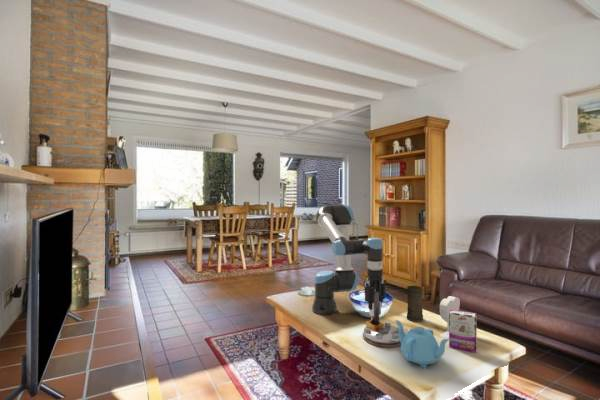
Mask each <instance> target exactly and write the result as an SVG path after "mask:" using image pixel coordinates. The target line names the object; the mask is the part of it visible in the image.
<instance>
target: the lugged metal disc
mask: <svg viewBox="0 0 600 400" xmlns="http://www.w3.org/2000/svg"><path fill="white" fill-rule="evenodd" d="M365 321H366V322H365V324H366V325H365V327H364V329H363V333H364V336H365V337H366V338H367V339H368V340H370V341H372V342H375V343H378V344H386V345H392V344H397V343H400V340H399V326H398V327H397V326H395V325H392V324H391V322H388V321H385V322H383V321H381V320H379V324H372V323H371V319H370V320H365Z"/></svg>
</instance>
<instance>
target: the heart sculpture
mask: <svg viewBox="0 0 600 400" xmlns="http://www.w3.org/2000/svg"><path fill="white" fill-rule="evenodd" d="M460 300H461V299H460V297H458V296H457V297H456V296H451V295H449V296H447V298H443V299H442V300H441V301H440V303H439V315H440V317H441V319H442V321H444V322H446V323H447V325H446V327H447V329H446V330H445V331H444V332H442V333H440V334H439V336H440V337H442V338H443V339H449V312H450V310H456V311H460V305H461V301H460Z"/></svg>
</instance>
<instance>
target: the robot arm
mask: <svg viewBox="0 0 600 400" xmlns="http://www.w3.org/2000/svg"><path fill="white" fill-rule="evenodd" d="M315 220H316V223H317V224H318V226H320V227H321V228H322V229H323V231H324V232H325V234H326V236H327V237H328V239H329V240H330V241H331V243H332V244H331V251H332V254H333V255H334V256H336V265H337V266H336V268H335V270H334V271H332V270H322V271H318V272H317V273H316V274H315V276H314V299H313V302H312V303H313V304H312V306H311V310H312V312H313V313H315V314H317V315H332V314H335V313H337V312H338V306H337V303H336V300H335V293H344V292H347V293H348V292H353V291H355V290H357V287H358V286H359V275H358V273H357V272H356V271H355V269H354V267H352V262H351V255H353V256H354V255H367V256H366V257H367V261H366V262H367V263H366V264H367V272H366V273H367V277H368V278H367V281H366V282H363V287H364V301H365V303H367V305H368V311H369V312H368V313H369V316H370V317H371V316H374V303H373V298H374V291H375V290H376V291H379V316H381V315H382V307H383V305H382V304H383V302H384V300H386V284H387V280H386V279H384V278H383V275H384V273H383V272H384V271H383V267H384V266H383V259H384V258H383V257H384V256H383V255H384V254H383V251H384V249H383V247H384V246H383V245H384V244H383V240H382V238H381V237H368V238H367V239H366V238H359V239H355V240H354V239H352V240H351V239H350V234H349V231H350V230H349V228H350V227H351V224H352V223H353V222H354V210H353V209H352V208H351V206H350V205H348V204H325V205H323V206H321V207H320V208H319V209H318V210H317V212H316V215H315Z"/></svg>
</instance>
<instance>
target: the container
mask: <svg viewBox="0 0 600 400" xmlns="http://www.w3.org/2000/svg"><path fill="white" fill-rule="evenodd" d="M406 289H407V308H406V309H407V312H406V319H407V320H408V321H410V322H414V323H420V322H423V321H424V315H423V290H424V289H423V287H421V286H418V285H408V286H407V288H406Z"/></svg>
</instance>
